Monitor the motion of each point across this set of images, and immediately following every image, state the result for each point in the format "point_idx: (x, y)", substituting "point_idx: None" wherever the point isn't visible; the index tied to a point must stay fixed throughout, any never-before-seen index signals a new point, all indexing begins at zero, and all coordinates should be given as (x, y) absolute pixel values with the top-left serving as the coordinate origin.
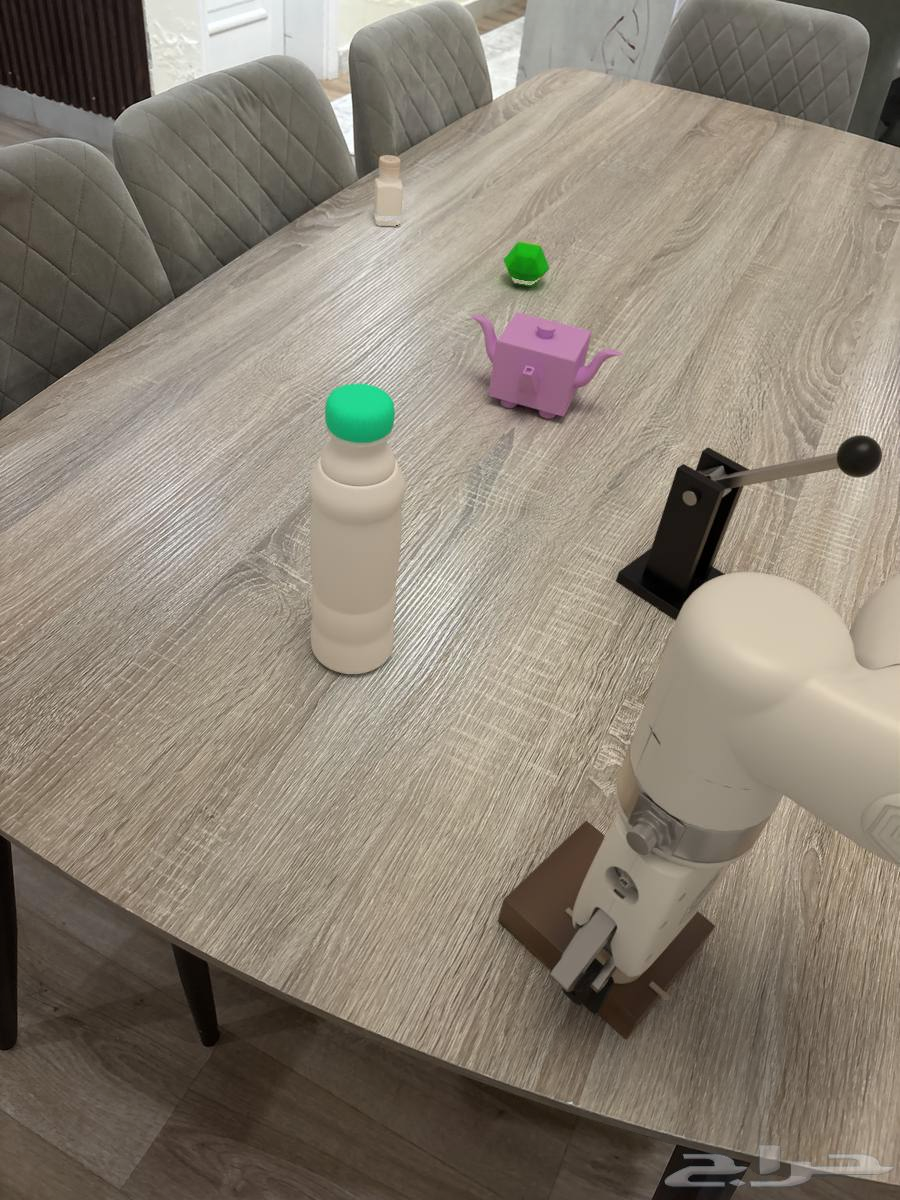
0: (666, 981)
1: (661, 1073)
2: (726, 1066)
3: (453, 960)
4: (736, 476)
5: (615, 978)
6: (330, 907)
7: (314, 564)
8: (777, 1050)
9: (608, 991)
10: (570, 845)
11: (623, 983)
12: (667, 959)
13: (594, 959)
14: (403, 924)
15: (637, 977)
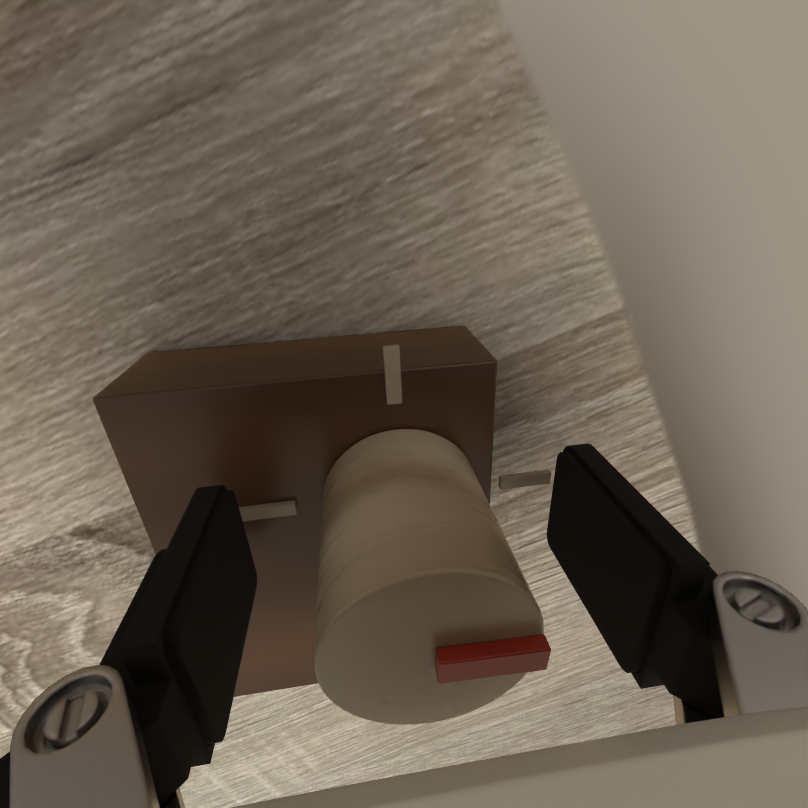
0: (353, 380)
1: (465, 225)
2: (327, 111)
3: (557, 574)
4: None
5: (470, 467)
6: (603, 682)
7: None
8: (159, 13)
9: (655, 524)
10: (289, 679)
11: (449, 441)
12: (302, 415)
13: (704, 670)
14: (561, 635)
15: (417, 435)
